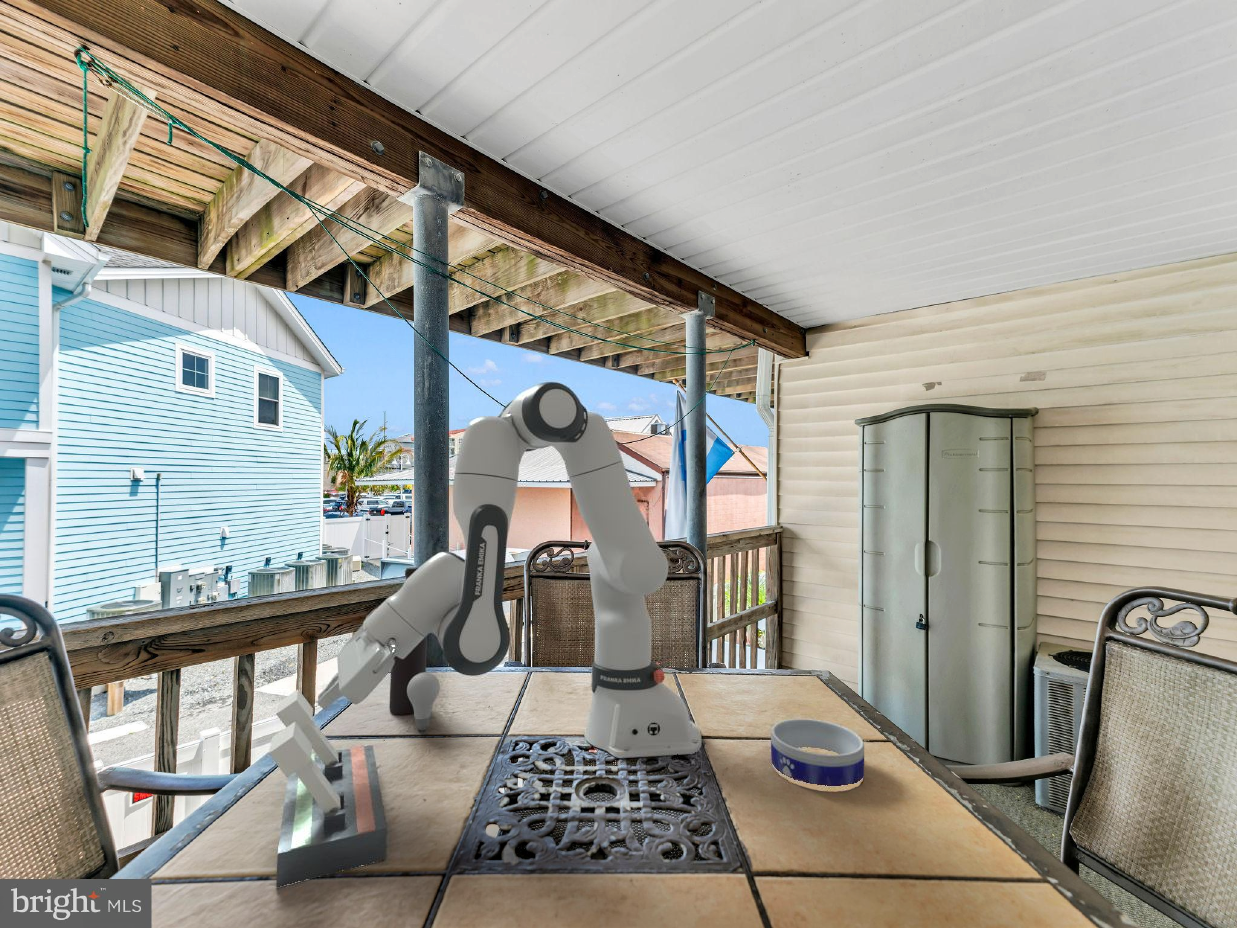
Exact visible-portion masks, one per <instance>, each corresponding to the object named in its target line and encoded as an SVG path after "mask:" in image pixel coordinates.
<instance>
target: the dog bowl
mask: <svg viewBox="0 0 1237 928" xmlns="http://www.w3.org/2000/svg"><path fill="white" fill-rule="evenodd" d="M799 747H800V748H802V747H807V748H808V747H811V748H820V749H825V750H828V751H833V752H836V753H838V754H839V755H827V754H818V753H812V752H807V751H803V750H800V749H797V748H799ZM770 755H771V756H770V758H771V765H772V764H773V765H774V767H775V768H776V769H777V770H778V771H780V772H781V773H782V774H784V775H786V776H788V777H790V778H793V779H794V780H798V781H803V782H806V783H810V784H817V785H825V786H826V785H827V786H841V785H848V784H854V783H857V782H858V781H860V780H861V779H862V778H863V776H865V742H864V740H863V739H862V737H861V736H860V735H859V734H857V733H856V732H855V731H853V730H851V729H850V728H847V727H845V726H842V725H840V724H837V723H834V722H829V721H825V720H822V719H821V720H819V719H814V718H793V719H792V718H790V719H785V720H781V721H779V722H776V723H775V724H773V726H772V727H771V728H770Z"/></svg>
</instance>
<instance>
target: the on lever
mask: <svg viewBox="0 0 1237 928" xmlns="http://www.w3.org/2000/svg"><path fill="white" fill-rule="evenodd" d="M312 751H313V749H312V744H311V743H310V741H309V740H308V739H307V737H306V736H305V735H304V733H303V732H302V731H301V729H300V728H299V726H298V725H297V724H296V722H294V723H292V724H291V725H290V726H288V727H287V728H286V727H285V728H283V729H282V730H281V731H279V732H278V733H276V734H275V735H274V736H272V737H271V741H270V745H269V750H268V755H269V756H270V758H271V759H272V760H273V761H274V763H275V764H276V765H277V767H278V768H279V769H280V771H281V772H282V773H283V774H284V776H285V778H286V779H288V777H289V776H291V775H292V774H294V773H295V774H296V775H297V776H298V778H299V779H300V780H301V782H302V783H303V784H304V786H305V787H306V788H307V790H308V791H309V792H310V794H311V795H312V796H313V798H314V799H315V800H316V802H317V803H318V804H319V806H320V807H321V808H322V810H323V811H324V812H325V813H329V812H334V811H338V810H340V796H339V795H338V794H337V792H336V791H335V790H334V788H333V787H332V785H331V784H330V783H329V781H328V780H327V779H326V777H325V776H324V775H323V773H322V772H321V771H320V769H319V768H318V766H317V765H316V764H315V762H314V761H313V760H312V758H311V754H313V752H312Z"/></svg>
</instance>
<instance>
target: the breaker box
mask: <svg viewBox="0 0 1237 928" xmlns="http://www.w3.org/2000/svg"><path fill="white" fill-rule="evenodd" d="M335 750H336V749H335ZM336 751H337V752H338V760H339V763H336V764H331V765H325V764H324V763H323V762H322V760H321V759H320V758H319V757H318V755H317V754H316V753H311V758H312V760H313V761H314V762H315V764H316V765H317V766H318V768H319V769H320V771H321V772H322V773H323V775H324V776H325V777H326V779H327V780H328V781H329V783H330V784H331V785H332V787H333V788H334V790H335V791H336V792H337V794H338V795H339V796H340V810H338V811H334V812H329V813H325V812H324V811H323V810H322V808H321V807H320V806H319V804H318V803H317V802H316V800H315V799H314V798H313V796H312V795H311V794H310V792H309V791H308V790H307V788H306V787H305V786H304V784H303V783H302V782H301V780H300V779H299V778H298V776H297V775H296V774H295V773H294V774H292V775H291V776H289V777H288V778H287V781H286V788H285V797H284V803H283V812H282V817H281V818H282V819H281V827H280V835H279V840H278V842H279V843H278V848H277V861H276V862H277V863H276V882H275V883H276V884H275V888H276V887H280V886H284V885H287V884H292V883H295V882H298V881H304V880H306V879H311V878H315V879H317V878H316V877H318V876H323V875H327V874H331V875H333V874H332V873H335V874H337V873H336V872H338V873H340V872H339V871H342V870H346V871H349V869H350V870H352V869H351V868H354V869H356V868H355V867H358V868H360V867H359V866H361V865H365V866H367V865H366V864H369V865H372V864H371V863H373V862H377V861H378V862H377V863H380V862H379V861H381V862H383V861H382V860H385V859H386V860H387V848H388V847H387V846H388V845H387V844H388V842H387V841H388V824H387V819H386V812H385V808H384V801H383V796H382V791H381V784H380V780H379V779H380V778H379V773H378V767H377V762H376V761H377V760H376V756H375V749H374V745H373V744H369V745H358V746H352V747H350V748H346V749H337V750H336ZM386 860H385V861H386ZM373 864H374V863H373ZM342 872H343V871H342ZM327 876H328V875H327ZM323 877H324V876H323ZM311 880H312V879H311ZM304 882H305V881H304ZM292 885H293V884H292ZM284 887H285V886H284Z"/></svg>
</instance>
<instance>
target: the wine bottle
mask: <svg viewBox="0 0 1237 928" xmlns="http://www.w3.org/2000/svg"><path fill="white" fill-rule="evenodd" d="M418 568H419V567H415V566H414V567H406V568H405V570H404V576H405V581H406V580H407V579H408V578H409V577H410V576H411V575H412V574H413V573H414V572H415V571H416V570H417V569H418ZM427 644H428V634H427V635H426V636H425V637H424V639H423V640H422V641H421V642H420V643H419V644H418V645H417V646H416V647H415V648H414V649H413V650H412V651H411V652H410V653H409V654H408V655H407V656H406V657H405V658H404V659H401V658H399V657H397V656H395V657H394V661H395V662H394V665H393V667H392V668H391V670H390V679H389V680H390V681H389V682H390V683H389V704H388V705H389V706H388V707H389V712H390V713H391V714H393V715H396V716H397V715H398V716H408V714H409V715H414V714H413V713H414V708H413V705H412V703H411V702H410V700H409V698H408V695H407V687H408V684H409V682H410V680H411V679H412V678H413V677H414V676H416V675H417V674H419V673H423V672H427V671H426V670H427V647H428V646H427Z"/></svg>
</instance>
